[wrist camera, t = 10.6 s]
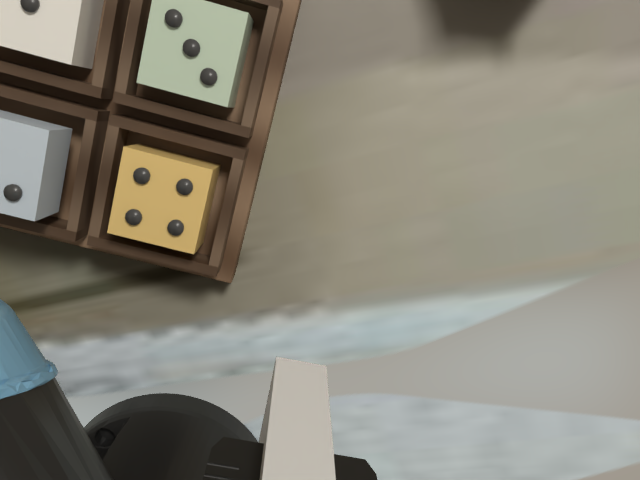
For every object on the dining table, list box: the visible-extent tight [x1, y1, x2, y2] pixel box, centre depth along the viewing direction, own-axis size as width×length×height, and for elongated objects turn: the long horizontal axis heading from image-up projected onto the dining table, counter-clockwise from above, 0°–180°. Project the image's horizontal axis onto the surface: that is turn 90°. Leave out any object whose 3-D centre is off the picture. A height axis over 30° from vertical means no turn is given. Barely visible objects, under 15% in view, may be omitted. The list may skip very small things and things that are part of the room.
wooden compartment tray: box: [0, 0, 301, 283], centre depth 34 cm, size 18×18×4 cm
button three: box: [136, 0, 254, 108], centre depth 31 cm, size 5×5×3 cm
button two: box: [0, 110, 72, 221], centre depth 31 cm, size 5×5×3 cm
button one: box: [0, 0, 104, 69], centre depth 31 cm, size 5×5×3 cm
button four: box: [107, 144, 221, 254], centre depth 33 cm, size 5×5×3 cm
